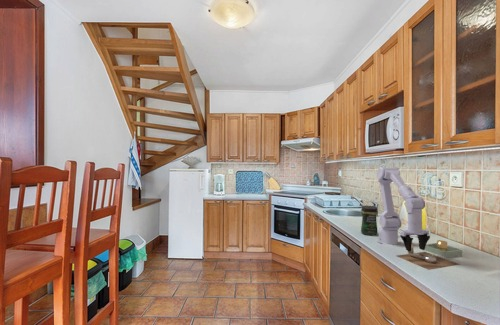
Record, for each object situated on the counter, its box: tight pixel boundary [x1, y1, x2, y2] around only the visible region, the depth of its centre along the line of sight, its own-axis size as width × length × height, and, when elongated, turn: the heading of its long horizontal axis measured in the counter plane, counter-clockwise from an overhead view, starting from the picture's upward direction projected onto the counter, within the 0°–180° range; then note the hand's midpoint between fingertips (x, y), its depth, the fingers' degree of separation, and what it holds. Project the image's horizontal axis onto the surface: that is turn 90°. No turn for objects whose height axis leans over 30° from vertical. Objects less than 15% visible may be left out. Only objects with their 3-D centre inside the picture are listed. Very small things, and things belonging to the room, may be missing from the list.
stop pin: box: [436, 239, 448, 252], centre depth 119 cm, size 4×4×6 cm
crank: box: [407, 242, 436, 263], centre depth 111 cm, size 11×4×6 cm, turn 33°
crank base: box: [396, 251, 461, 271], centre depth 110 cm, size 16×20×1 cm
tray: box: [424, 242, 463, 259], centre depth 119 cm, size 11×11×4 cm
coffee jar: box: [360, 205, 379, 236], centre depth 155 cm, size 10×8×19 cm
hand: (415, 250), depth 115 cm, fingers open, 7 cm apart
